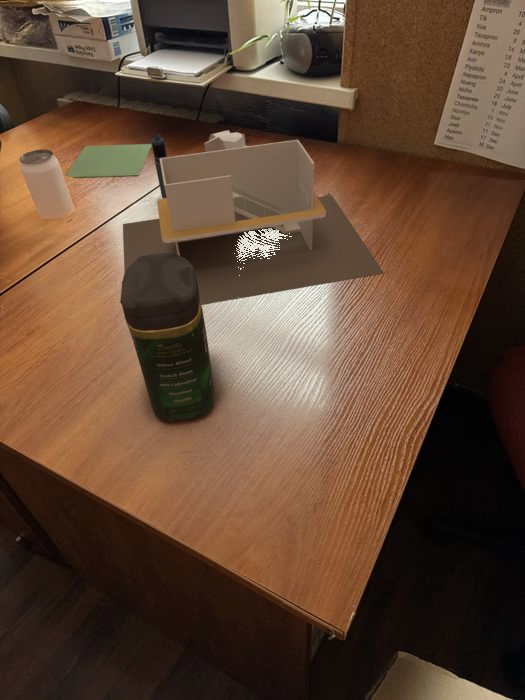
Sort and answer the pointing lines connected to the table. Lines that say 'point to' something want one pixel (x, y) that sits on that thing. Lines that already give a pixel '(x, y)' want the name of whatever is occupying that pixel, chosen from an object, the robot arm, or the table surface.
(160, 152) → the vaping device
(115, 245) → the table surface
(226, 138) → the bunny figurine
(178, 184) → the architectural model
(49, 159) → the can
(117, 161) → the mat
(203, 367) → the coffee jar
